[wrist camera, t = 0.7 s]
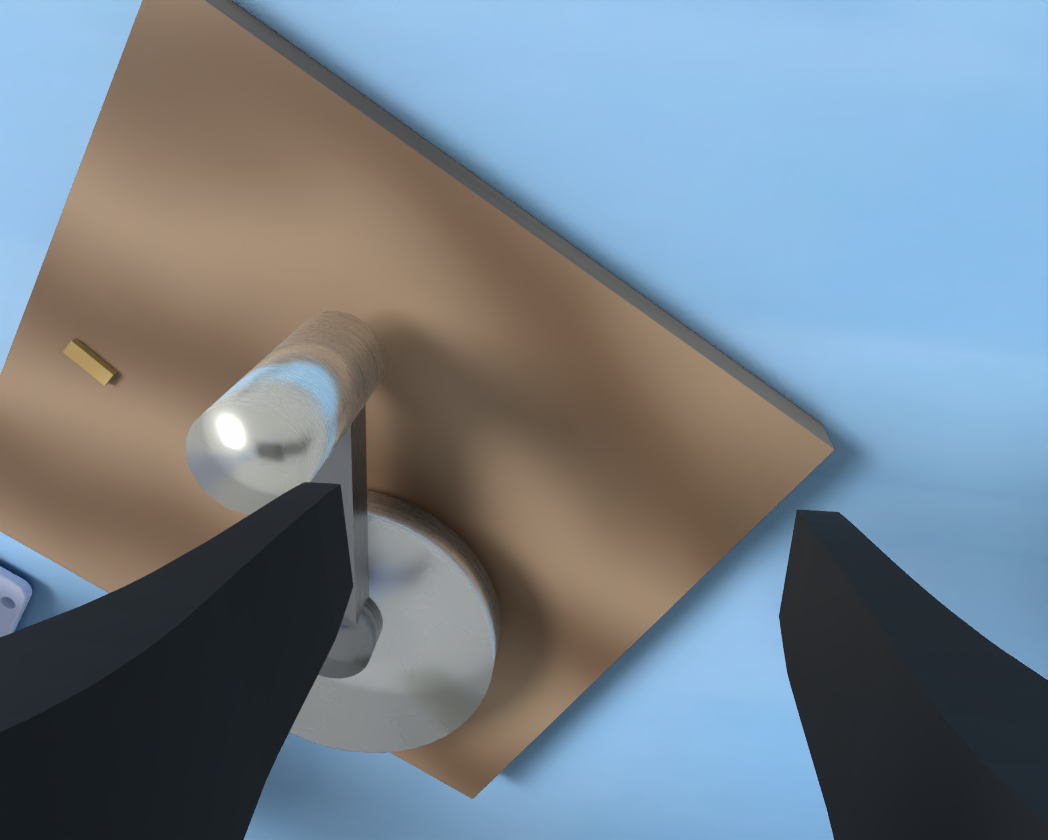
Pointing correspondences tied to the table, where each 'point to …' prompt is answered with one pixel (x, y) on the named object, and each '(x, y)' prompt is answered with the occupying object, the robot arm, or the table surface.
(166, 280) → the stand board
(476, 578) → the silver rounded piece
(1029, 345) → the table surface
